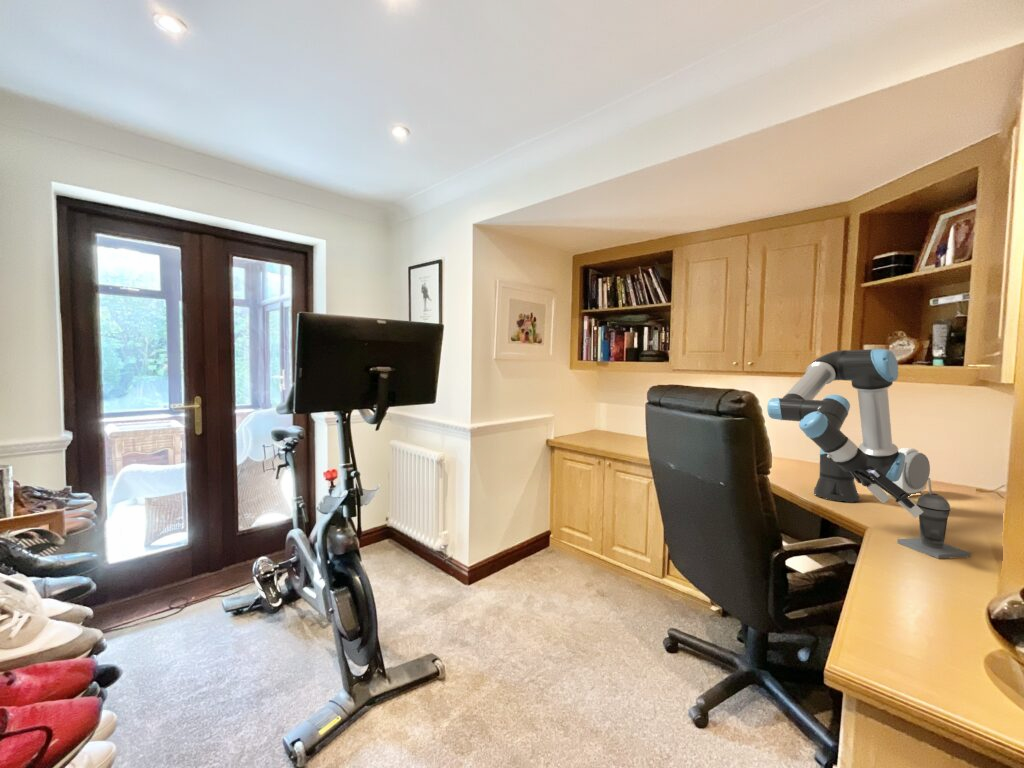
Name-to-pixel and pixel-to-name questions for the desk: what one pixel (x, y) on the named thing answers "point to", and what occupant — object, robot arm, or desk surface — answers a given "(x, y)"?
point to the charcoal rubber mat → (934, 549)
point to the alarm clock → (914, 471)
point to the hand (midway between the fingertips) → (901, 507)
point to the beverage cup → (933, 518)
